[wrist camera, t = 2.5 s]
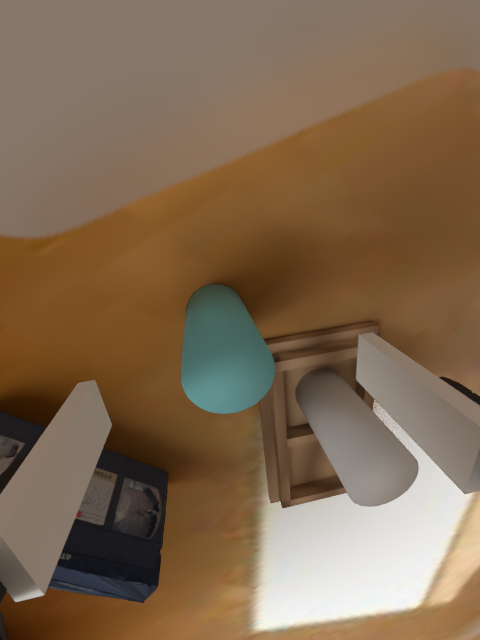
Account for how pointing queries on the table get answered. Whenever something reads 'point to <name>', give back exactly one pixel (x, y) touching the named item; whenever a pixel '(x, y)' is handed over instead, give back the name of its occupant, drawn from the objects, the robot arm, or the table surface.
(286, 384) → the rack
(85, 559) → the vhs cassette tape
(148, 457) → the table surface
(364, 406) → the white cylinder
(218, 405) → the teal rounded cylinder
